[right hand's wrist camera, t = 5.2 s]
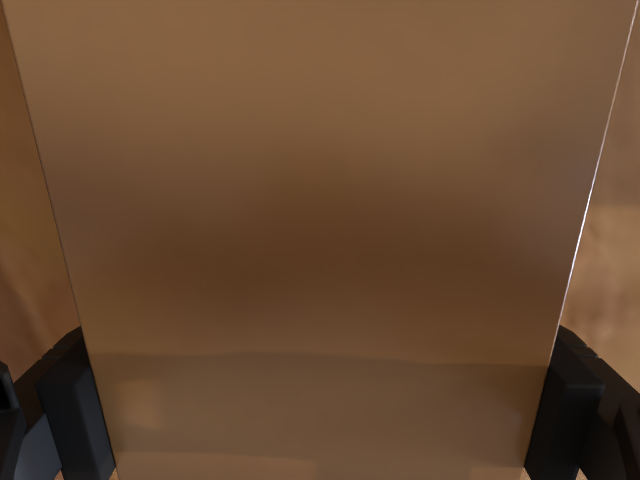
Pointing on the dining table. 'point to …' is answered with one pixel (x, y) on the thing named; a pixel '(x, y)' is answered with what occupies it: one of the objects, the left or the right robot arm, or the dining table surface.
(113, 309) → the wooden beam
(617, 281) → the dining table surface
